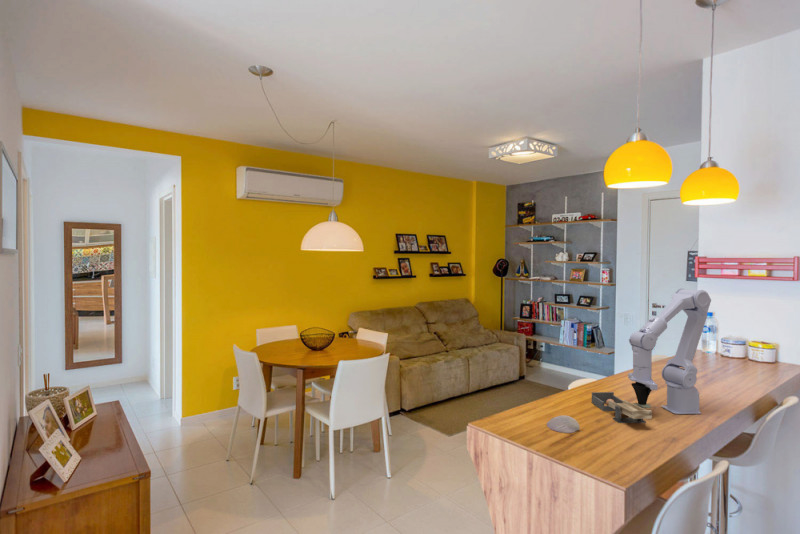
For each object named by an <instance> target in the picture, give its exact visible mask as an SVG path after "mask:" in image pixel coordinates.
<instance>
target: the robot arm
mask: <svg viewBox="0 0 800 534" xmlns="http://www.w3.org/2000/svg"><path fill="white" fill-rule="evenodd" d="M711 303H712V299H711V297H710V295H709V293H708V292H707V291H706V290H703V289H688V288H687V289H686V288H678V289H677V290H676V291H675V292H674V293H673V294H672V295H671V300H670V302H669V303H668V304H667V305H666V306H665V308H663V310H662V311H661V312H660V313H659V315H657V316H652V317H650V318H649V319H648V321H647V322H646V323H645V324H644V325H643V326H642V327H641V328H640V329H639V330H637V331H634V332H633V333H632V334H631V335H630V338H629V339H628V343H629V344H630V346H631V350H632V368H633V369H632V372H628V373H627V375H628V376H627V377H628V379H629V380H630V381H632V383H630V384H631V386H632V389H633V390H634V392H635V395H636V399H637V400H636V401H637V403H638V404H640V405H646V403H647V404H648V400H649V396H650V394H651V392H652V391H658V387H659V385H658V384H657V383H656V382H655V381H654V380H653V378H652V369H653V367H652V366H653V365H652V364H653V363H652V362H653V361H652V359H653V358H652V357H653V355H652V350H653V349H654V348H655V347H656V344H657V341H658V339H659V337H660V336H661V335H662V334H663V333H664V332H665V331H666V330H667V328H668V323H669V322H670V321H671V320H672V319H673V318H674V317H675V316H677V315H678V314H679V313H680V312H682V311H683V312H684V313H685V314H686V316H687V318H686V321H685V325H684V327H683V331H682V333H681V334H682V335H681V337H680V340H679V343H678V347H677V349H676V352H675V354H674V355H675V356H673V357H672V358H669V359H668V360H667V361H666V363H665V365H664V366H663V368H662V370H661V377H662V379H663V381H665V384H666V405H665V404H664V405H661V408H663V409H664V410H666V411H668V412H670V413H672V414H674V415H695V414H697V415H700V414H702V412H701V411H700V392H699V390H698V389H697V387H696V386H695V385H696V383H697V379H698V378H697V373H698V369H697V367H696V366H695V364H694V363H693V361H694V359H695V355H696V352H697V349H698V346H699V342H700V339H701V336H702V334H703V331H704V327H705V324H706V321H707V318H708V312H709V308H710V306H711Z"/></svg>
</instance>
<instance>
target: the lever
mask: <svg viewBox="0 0 800 534" xmlns="http://www.w3.org/2000/svg"><path fill="white" fill-rule="evenodd" d="M622 400H623V399H622ZM608 403H609V407H611V408H613V409H615V406H619V407H620V408H621V414H623V415H625V416H626V417H627V416H628V417H631V418H633V419H643V420H644V419H645V420H647V419H649V420H650V419H651V420H652V419H653V412H652V410H651V408H652V405H651V404H649V403H648V402H647V403H646V405H640V404H638V402H637V403H636V402H635V403H634V402H633V403H632V402H630V401H627V400H625V399H624V400H623V403H615V402H613V401H611V400H608ZM637 405H639V406H641V407H643V408H641V407H639V406H637Z"/></svg>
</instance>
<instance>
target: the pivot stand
mask: <svg viewBox="0 0 800 534" xmlns="http://www.w3.org/2000/svg"><path fill="white" fill-rule="evenodd" d="M637 406H639V405H637ZM639 407H641V406H639ZM641 408H643V407H641ZM643 409H644V408H643ZM612 420H613V421H614V422H617V424H646V423H647V421H646V420H644V419H633V418H631V417H629V416H628V417H627V416H626V417H622V413H621V408H620V407H619V406H615V411H614V417H612Z"/></svg>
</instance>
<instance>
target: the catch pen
mask: <svg viewBox="0 0 800 534" xmlns="http://www.w3.org/2000/svg"><path fill="white" fill-rule="evenodd" d="M608 399H612V400H614V402H615V403H623V399H621V398H619V397H618V396H616V395H615V393H614V391H602V392H601V391H599V392H598V391H597V392H595V391H593V392H592V391H591V403H592V405H594V406H595V407H597V408H598V409H600V410H601V411H602V412H615V409H613V408H611V407H609V406H607V405H605V404H606V401H607V400H608Z"/></svg>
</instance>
